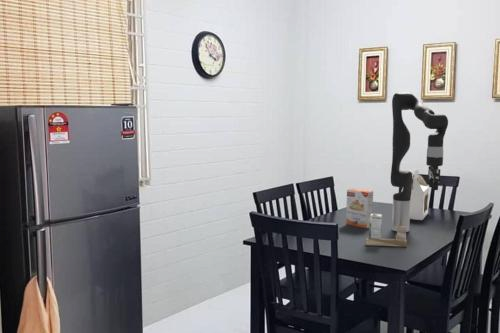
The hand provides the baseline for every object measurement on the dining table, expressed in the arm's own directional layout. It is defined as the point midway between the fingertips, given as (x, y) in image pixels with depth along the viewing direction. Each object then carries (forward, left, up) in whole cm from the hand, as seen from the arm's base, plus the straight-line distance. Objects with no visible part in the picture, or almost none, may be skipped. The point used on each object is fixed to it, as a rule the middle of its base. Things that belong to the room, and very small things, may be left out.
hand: (433, 188), depth 246 cm
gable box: (-68, +5, -28) cm, 74 cm away
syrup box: (+1, -27, -28) cm, 39 cm away
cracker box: (-35, -32, -28) cm, 55 cm away
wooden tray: (-2, -22, -28) cm, 36 cm away
